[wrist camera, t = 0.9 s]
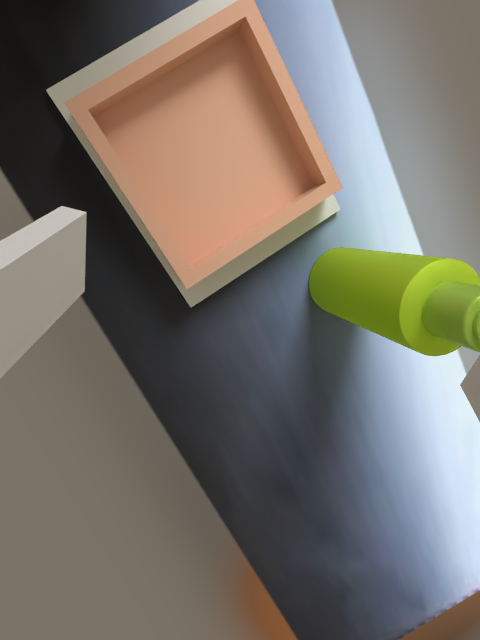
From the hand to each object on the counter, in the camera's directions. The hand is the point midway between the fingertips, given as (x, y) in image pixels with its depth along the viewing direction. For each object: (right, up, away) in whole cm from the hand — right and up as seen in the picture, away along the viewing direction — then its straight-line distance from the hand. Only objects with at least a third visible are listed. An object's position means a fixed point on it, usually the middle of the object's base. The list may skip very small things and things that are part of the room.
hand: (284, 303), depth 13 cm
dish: (-4, +12, +18) cm, 22 cm away
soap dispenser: (+8, +3, +24) cm, 26 cm away
